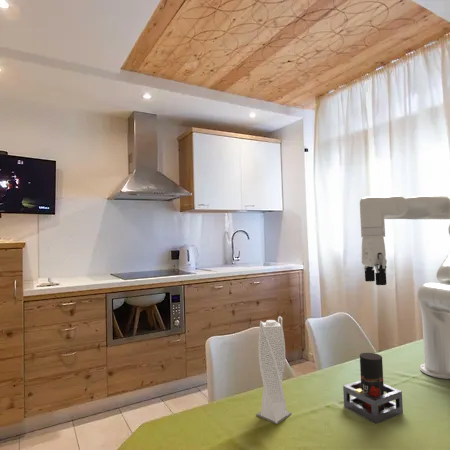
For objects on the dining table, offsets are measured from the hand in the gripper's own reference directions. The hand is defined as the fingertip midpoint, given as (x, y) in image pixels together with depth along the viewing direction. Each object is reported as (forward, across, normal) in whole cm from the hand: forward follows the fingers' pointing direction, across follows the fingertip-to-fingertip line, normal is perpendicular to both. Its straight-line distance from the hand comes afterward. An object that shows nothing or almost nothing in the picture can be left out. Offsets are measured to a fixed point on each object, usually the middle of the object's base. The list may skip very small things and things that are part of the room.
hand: (375, 283), depth 115 cm
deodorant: (+34, +18, -9) cm, 39 cm away
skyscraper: (+34, +22, -37) cm, 54 cm away
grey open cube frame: (+33, +18, -9) cm, 39 cm away
